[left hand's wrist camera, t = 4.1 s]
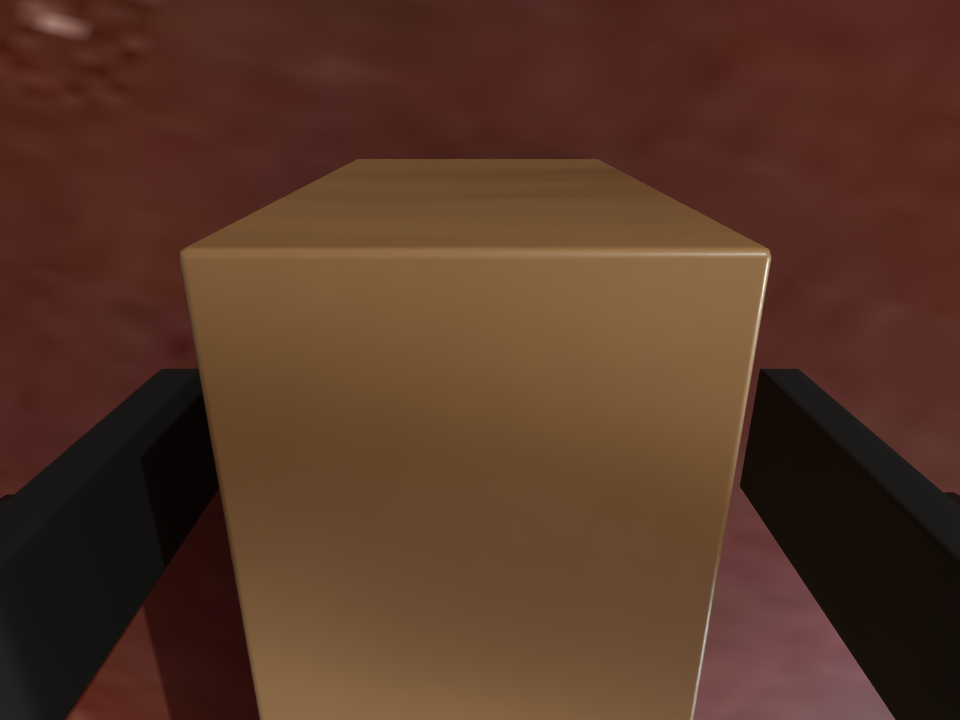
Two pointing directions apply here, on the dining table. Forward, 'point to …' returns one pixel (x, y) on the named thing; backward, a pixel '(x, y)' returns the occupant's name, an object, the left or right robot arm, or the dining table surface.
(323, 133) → the dining table surface
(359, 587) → the bar
